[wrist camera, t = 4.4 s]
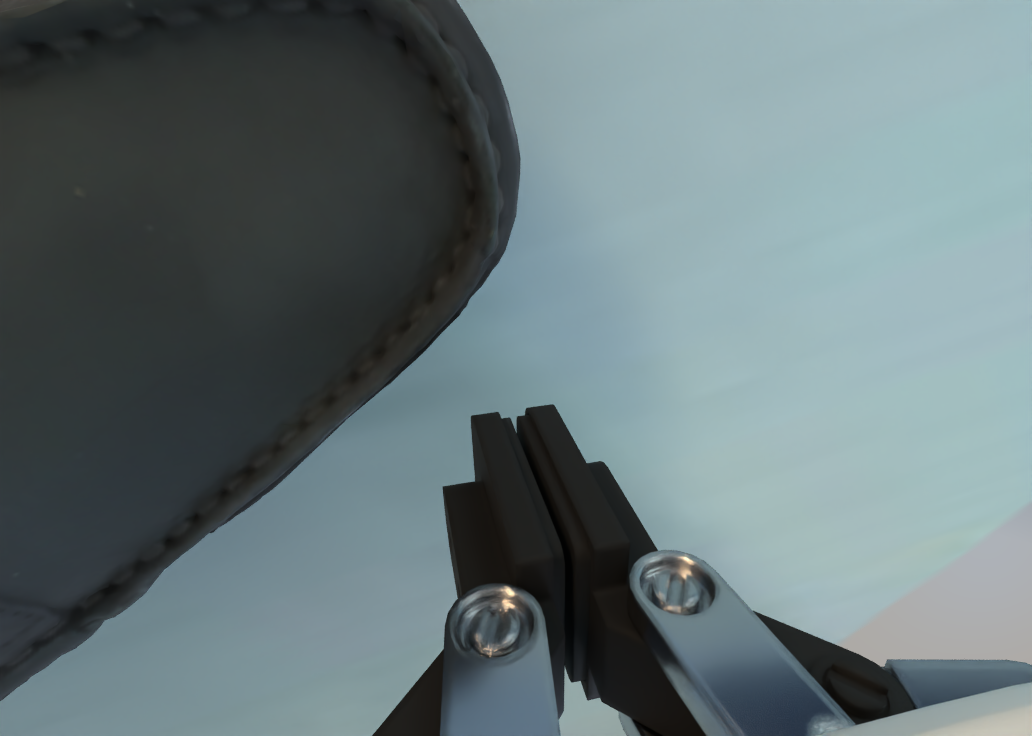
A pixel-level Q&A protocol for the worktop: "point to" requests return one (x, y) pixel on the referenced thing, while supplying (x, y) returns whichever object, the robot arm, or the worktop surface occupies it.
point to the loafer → (215, 265)
